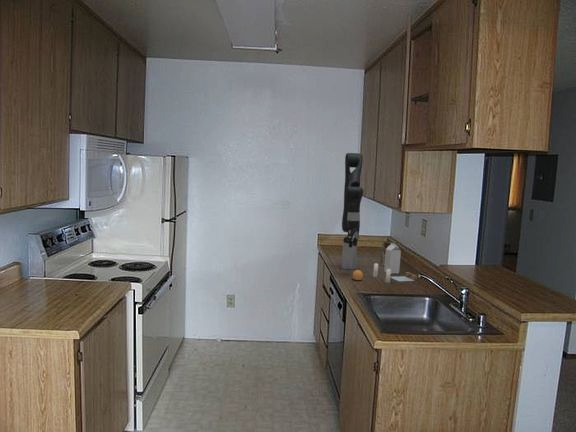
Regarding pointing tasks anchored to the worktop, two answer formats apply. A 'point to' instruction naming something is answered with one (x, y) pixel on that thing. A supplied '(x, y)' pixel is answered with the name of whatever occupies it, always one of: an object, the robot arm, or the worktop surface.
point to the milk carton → (392, 258)
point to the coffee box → (384, 251)
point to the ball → (357, 275)
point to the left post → (375, 270)
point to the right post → (388, 275)
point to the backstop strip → (411, 276)
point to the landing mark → (401, 278)
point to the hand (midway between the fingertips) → (352, 246)
